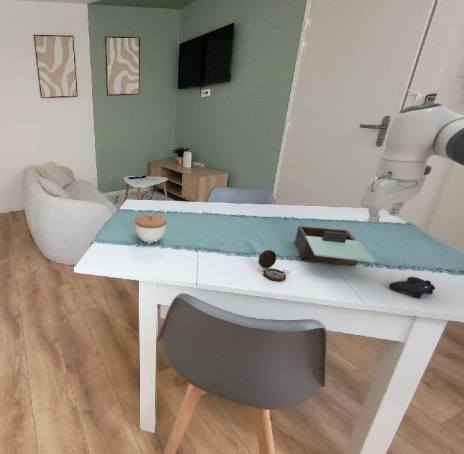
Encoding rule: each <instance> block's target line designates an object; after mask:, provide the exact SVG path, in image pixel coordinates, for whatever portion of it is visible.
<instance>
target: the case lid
mask: <svg viewBox="0 0 464 454" xmlns="http://www.w3.org/2000/svg"><path fill="white" fill-rule="evenodd" d="M347 235H348V234H347V233H340V232H329V231H324V233H323V237H314V236H305V238H306V240H307V242H308V244H309V246H310V248H311V249H312V251H313V253H314V255H316V256H324V257H333V258H341V259H349V260H358V261H359V262H368V263H376V259H375V258H374V257H373V256H372V255H371V253H369V251H368V250H367V249H366V248H365V246H364V245H363V244H362V243H361V242H360V241H359V240H356V241H354V240H346V238H347ZM358 261H357V262H358Z"/></svg>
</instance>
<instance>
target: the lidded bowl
mask: <svg viewBox="0 0 464 454" xmlns="http://www.w3.org/2000/svg"><path fill="white" fill-rule="evenodd" d="M167 221H168V220H167V218H166V217H164V216H163V215H160V214H156V213H146V214H141V215H138V216H136V217H135V219H134V223H135V225H134V226H135V227H134V228H135V232H136V235H137V237H138V238H139V239H140V240H141V241H142V242H143V241H144V242H143V243H145V242H147V243H146V244H154V243H153V242H156V243H158V242H159V241H160V240H161V239H162V238H163V237H164V236H165V233H166V230H167ZM158 240H159V241H158ZM157 241H158V242H157Z"/></svg>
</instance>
